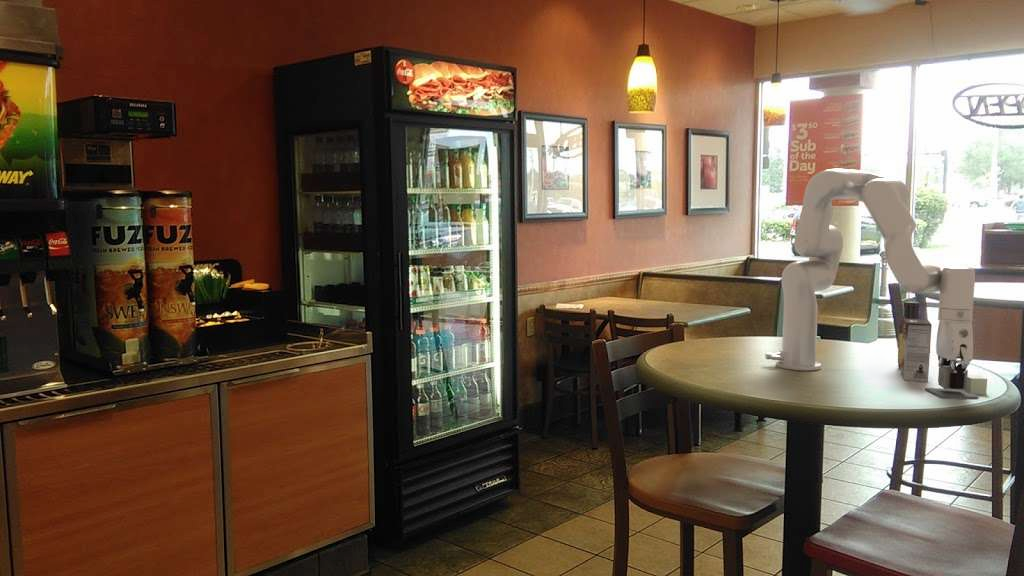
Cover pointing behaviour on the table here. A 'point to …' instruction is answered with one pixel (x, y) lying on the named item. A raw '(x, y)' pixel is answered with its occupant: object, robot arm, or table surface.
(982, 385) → the sage block
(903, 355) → the coffee box
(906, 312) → the sauce bottle
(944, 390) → the black mat
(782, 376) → the table surface
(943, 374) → the grey cube
